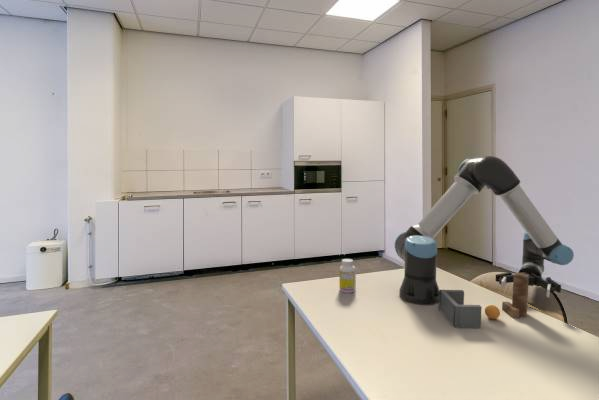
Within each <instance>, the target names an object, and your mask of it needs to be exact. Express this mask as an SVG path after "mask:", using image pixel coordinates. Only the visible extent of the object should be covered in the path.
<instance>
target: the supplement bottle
mask: <svg viewBox="0 0 599 400" xmlns="http://www.w3.org/2000/svg"><path fill="white" fill-rule="evenodd" d="M341 264H342V265H340V267H339V290H340V291H341V292H342V293H348V294H349V293H350V294H351V293H353V292H355V291H356V289H357V288H356V287H357V286H356V280H357V278H356V277H357V275H356V271H357V269H356V266H354V260H353V259H352V258H343V259H341Z"/></svg>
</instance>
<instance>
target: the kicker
mask: <svg viewBox="0 0 599 400" xmlns="http://www.w3.org/2000/svg"><path fill="white" fill-rule="evenodd" d="M513 274H514V278H513V282H512V303H511V302H509V301H502V303H501V304H502V305H501V308H502V309H501V310H502V311H503V312H504V313H505V314H507V315H508V316H509V317H510V318H511V319H519V318H521V317H522V318H526V317H527V314H528V300H529V299H528V297H529V296H528V295H529V286H528V283H529V274H524V273H519V271H518V272H516V271H515V272H514V273H513Z"/></svg>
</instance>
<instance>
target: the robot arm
mask: <svg viewBox="0 0 599 400" xmlns="http://www.w3.org/2000/svg"><path fill="white" fill-rule="evenodd" d="M457 171H458V172H457V173H456V174H455V175H454V176H453V178H454V182H453V183H452V184H451V186H450V187H449V188H447V190H446V191H445V193H444V194H442V196H441V197H440V198H439V199H438V200H437V202H436V203H434V205H433V206H432V207H431V208H430V210H428V212H427V213H426V214H425V215H424V216H423V218H422V219H421V220H420V221H419V222H418V223H417V224H416V225H410V227H409V228H408V229H407V230H406V231H404V232H401V233H400V234H398V236H397V237H396V238H395V240H394V249H395V252H396V254H397V256H398V257H399V258H400V259H402V261H403V262H404V277H403V280H402V283H401V286H400V288H399V298H400V299H402V300H403V301H405V302H408V303H411V304H415V305H425V306H427V305H429V306H430V305H435V304H439V290H440V288H439V285H438V282H437V261H438V260H437V259H438V256H437V255H438V247H437V242H436V240H435V238H436V237H437V235H438V234H439V233H441V230H442V229H443V228H444V227H445V226H446V225H447V224H448V222H449V221H451V219H452V218H453V217H454V216H455V215H456V213H457V212H458V211H459V210H460V209H461V207H463V206H464V205H465V204H466V203H467V201H468V200H469V199H470V198H471V197H472V195H479V193H481V191H483V189H484V188H485V187H487V188H489V189H490V190H491V192H492V193H493V194H494V195H495V196H497V197H500V198H501V200H502V202H504V204H505V205H506V207H507V208H508V210H509V211H510V212H511V213H512V215H513V216H514V218H515V219H516V220H517V222H518V223H519V224H520V226H521V227H522V228H523V230H524V234H523V240H522V257H521V258H522V260H521V267H520V268H519V270H518V273H524V274H529V283H528V287H529V286H530V287H531V286H532V287H533V286H535V287H540V288H543V289H545V290H546V298H550V294H554V293H555V292H556V293H559V294H560V293H561V291H562V285H561V284H560V283H558V282H557V281H555V280H553V279H552V278H551V277H549V276H547V277H545V278H543V274H544V272H545V261H548V262H551V263H552V264H556V265H560V266H566V265H568V264H570V263H572V261H573V259H574V257H575V255H574V251H573V249H572V248H571V247H569V246H567V245H565V244H563V243H562V241H560V240H559V238H558V236H557V235H556V234H555V232H554V230H552V228H551V227H550V226H549V224H548V223H547V221H546V220H545V218H544V217H543V216H542V214H541V213H540V212H539V210H538V209H537V208H536V206H535V205H534V203H533V201H531V199H530V197H529V196H528V195H527V193H526V192H525V191H524V190H523V188H522V186H521V185H520V184H521V180H520V179H519V177H518V176H517V175H516V173H515V172H514V171H513V170H512V168H511V167H510V166H509V165H508V163H506V162H505V161H504V160H502V159H501V158H499V157H497V156H493V155H486V156H485V155H484V156H472V157H469V158H466V159H465V160H463V162H461V164H460V165H459V166H458V170H457ZM514 274H515V273H513V271H511V270H510V271H507V272H503V273H498V274H495V282H497V283H498V284H499V285H500V289H502V290H503V289H504V288H505V287H506V284H510V283H513V278H514Z"/></svg>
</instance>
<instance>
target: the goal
mask: <svg viewBox="0 0 599 400" xmlns="http://www.w3.org/2000/svg"><path fill="white" fill-rule="evenodd" d="M464 302H465V291H464V290H463V289H439V302H438V309H439V311H441V313H442V314H443V315H444V316H445V318H446V319H447V320H448V322H449V323H450V324H451V325H452V326H453V328H456V329H458V328H459V329H481V328H482V327H481V326H482V306H481V305H480V304H464Z"/></svg>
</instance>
